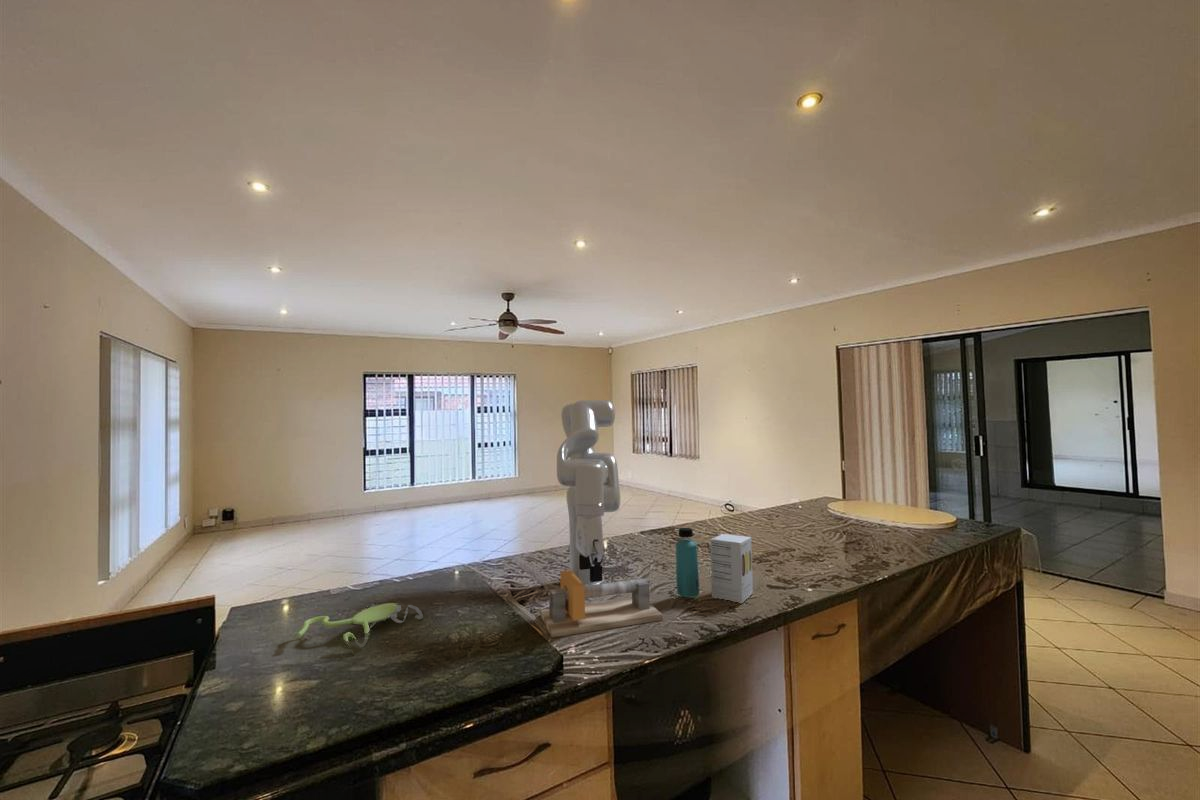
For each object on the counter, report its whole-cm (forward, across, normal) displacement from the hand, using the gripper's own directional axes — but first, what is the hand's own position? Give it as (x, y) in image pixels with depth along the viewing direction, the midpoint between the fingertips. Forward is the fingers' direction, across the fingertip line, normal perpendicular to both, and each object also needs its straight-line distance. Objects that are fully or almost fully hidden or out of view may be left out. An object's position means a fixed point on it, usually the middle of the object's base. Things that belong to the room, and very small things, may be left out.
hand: (590, 574), depth 121 cm
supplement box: (+12, 0, +43) cm, 45 cm away
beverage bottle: (+12, -3, +30) cm, 32 cm away
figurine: (+12, -12, -56) cm, 58 cm away
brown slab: (+8, +1, -5) cm, 10 cm away
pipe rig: (+11, +1, +2) cm, 11 cm away
